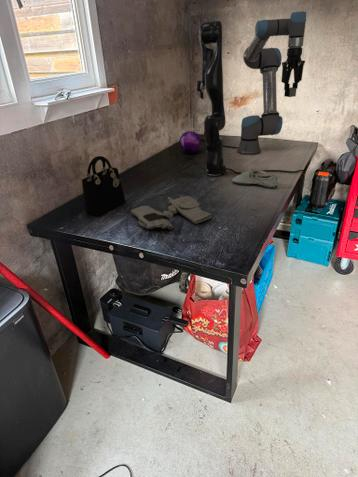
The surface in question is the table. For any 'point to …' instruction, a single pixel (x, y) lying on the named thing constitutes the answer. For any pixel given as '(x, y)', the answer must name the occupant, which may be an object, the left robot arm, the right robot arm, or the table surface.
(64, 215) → the table surface
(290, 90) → the metal block
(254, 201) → the table surface
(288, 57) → the right robot arm
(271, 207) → the table surface
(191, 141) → the decorative orb
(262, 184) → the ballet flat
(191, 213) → the pair of gloves
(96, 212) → the handbag
